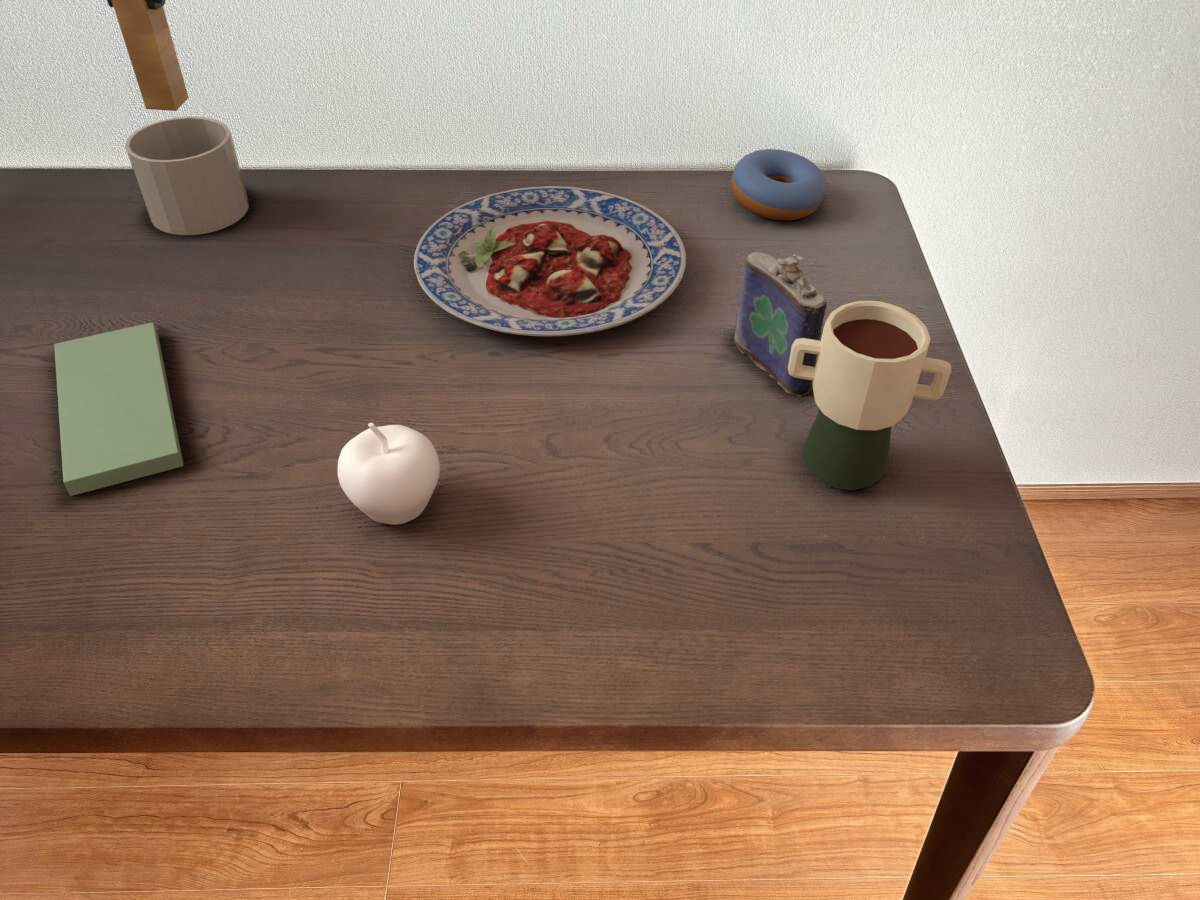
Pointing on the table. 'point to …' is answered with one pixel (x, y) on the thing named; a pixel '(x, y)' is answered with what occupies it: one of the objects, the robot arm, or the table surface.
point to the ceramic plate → (549, 261)
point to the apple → (389, 472)
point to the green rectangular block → (114, 409)
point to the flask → (778, 316)
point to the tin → (188, 175)
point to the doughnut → (778, 184)
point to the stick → (151, 54)
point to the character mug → (863, 388)
